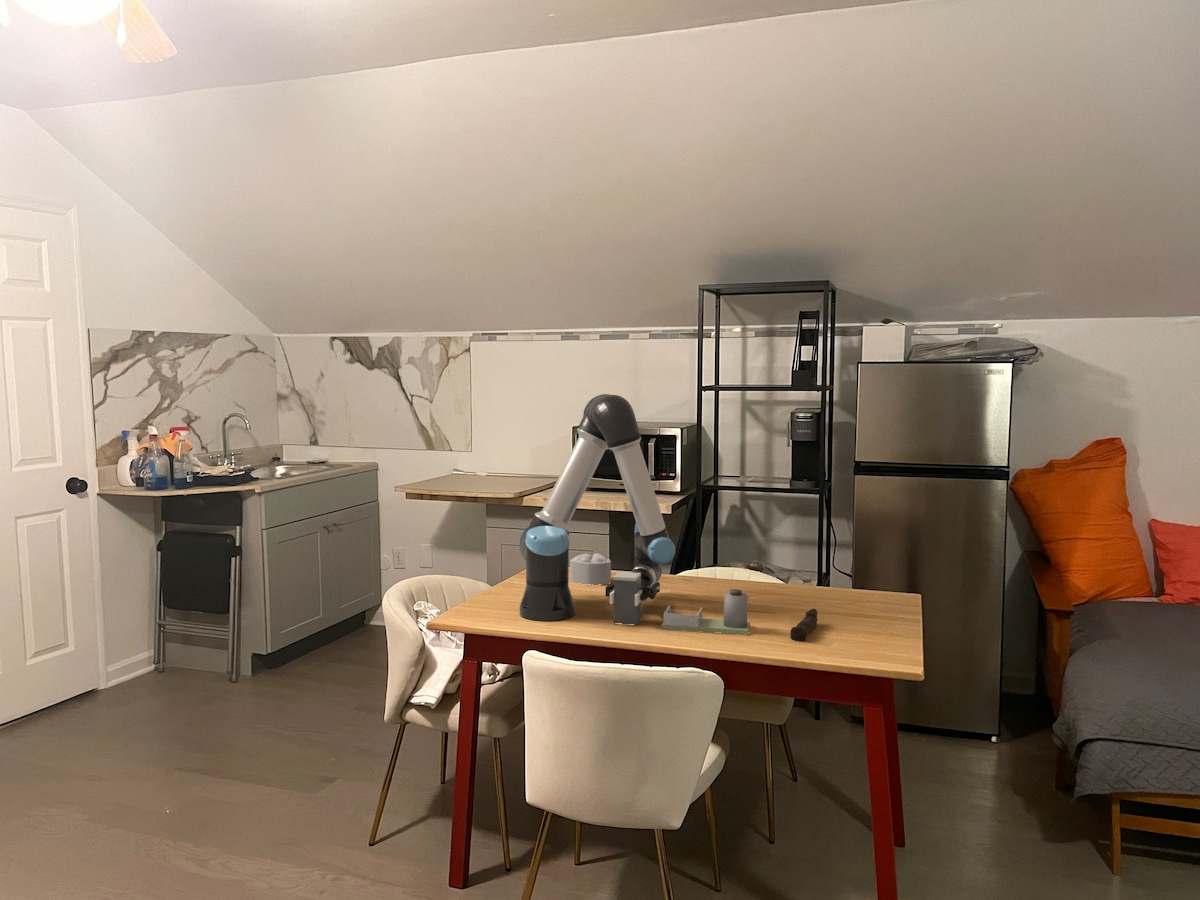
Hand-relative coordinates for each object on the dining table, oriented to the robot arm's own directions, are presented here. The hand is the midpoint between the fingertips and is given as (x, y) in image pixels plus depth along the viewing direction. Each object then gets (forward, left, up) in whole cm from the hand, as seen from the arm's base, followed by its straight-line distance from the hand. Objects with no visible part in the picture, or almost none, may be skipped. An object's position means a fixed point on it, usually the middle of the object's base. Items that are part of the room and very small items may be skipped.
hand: (623, 599), depth 225 cm
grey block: (0, +5, -7) cm, 9 cm away
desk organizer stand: (+21, +5, -7) cm, 23 cm away
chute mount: (+15, +5, -6) cm, 17 cm away
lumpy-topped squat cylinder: (-21, +49, -8) cm, 54 cm away
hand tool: (+46, +8, -8) cm, 47 cm away
